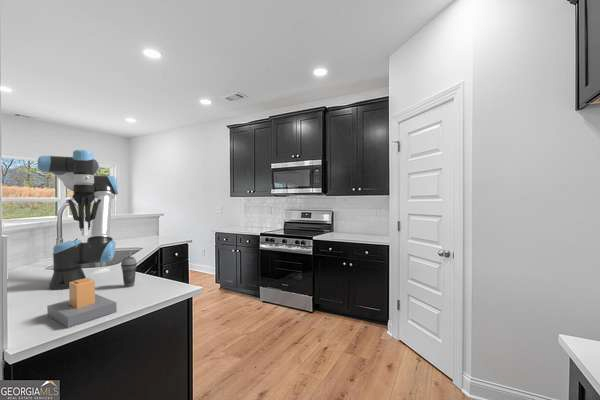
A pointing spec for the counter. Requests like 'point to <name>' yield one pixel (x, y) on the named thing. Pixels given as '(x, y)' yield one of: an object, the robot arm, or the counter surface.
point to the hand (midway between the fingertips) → (84, 235)
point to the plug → (82, 292)
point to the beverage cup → (129, 270)
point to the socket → (81, 311)
